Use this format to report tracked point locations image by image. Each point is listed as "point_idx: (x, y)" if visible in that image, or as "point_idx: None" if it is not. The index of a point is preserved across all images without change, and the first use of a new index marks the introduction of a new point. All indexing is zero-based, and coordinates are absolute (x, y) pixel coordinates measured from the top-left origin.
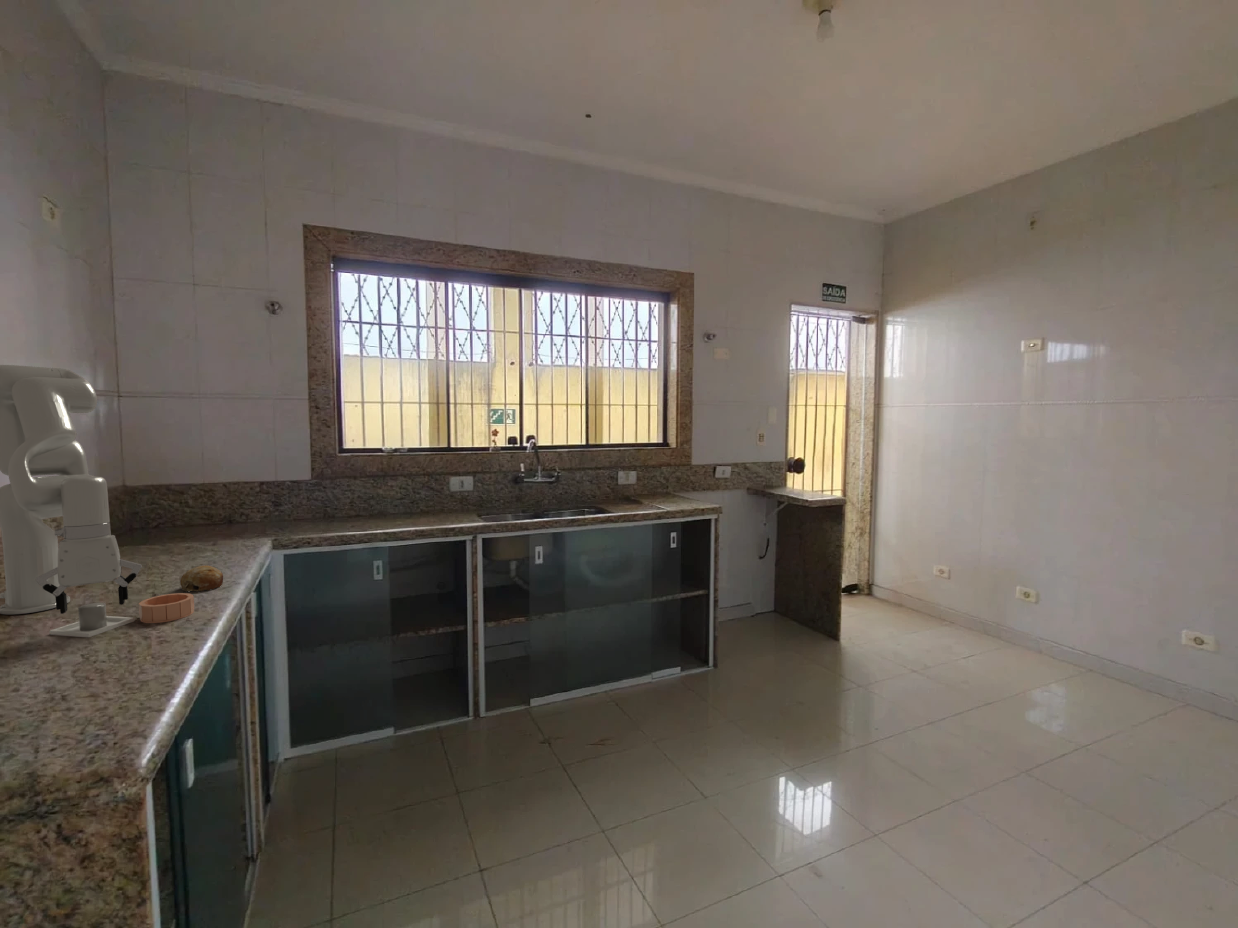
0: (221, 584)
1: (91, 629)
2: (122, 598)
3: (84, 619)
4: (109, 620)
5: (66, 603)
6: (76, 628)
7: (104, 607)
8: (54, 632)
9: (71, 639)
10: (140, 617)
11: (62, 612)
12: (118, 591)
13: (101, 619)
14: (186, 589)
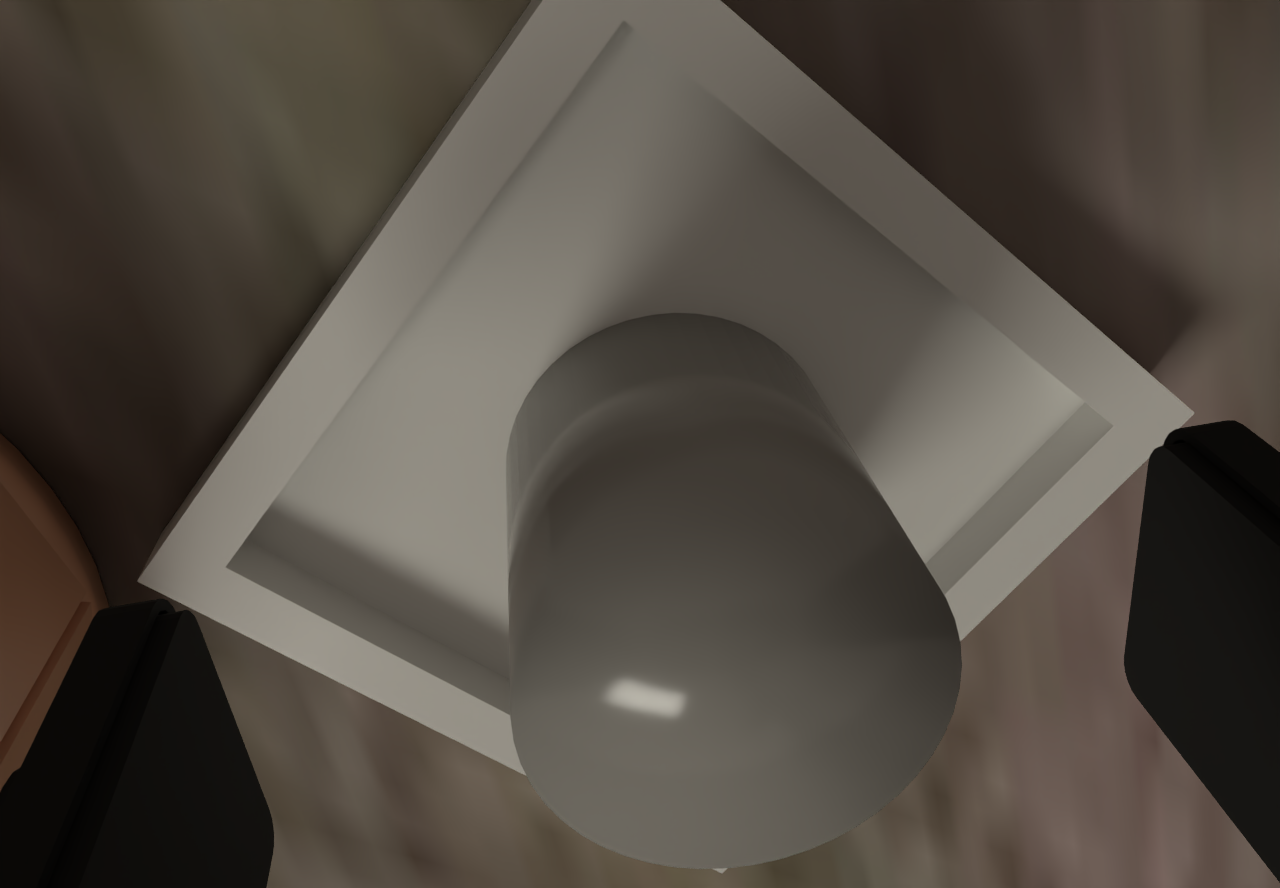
0: None
1: (660, 320)
2: (64, 698)
3: (787, 406)
4: None
5: (1211, 736)
6: None
7: (514, 640)
8: (1122, 350)
9: (861, 37)
10: (27, 547)
11: (1203, 430)
12: (77, 869)
13: (544, 448)
14: None
